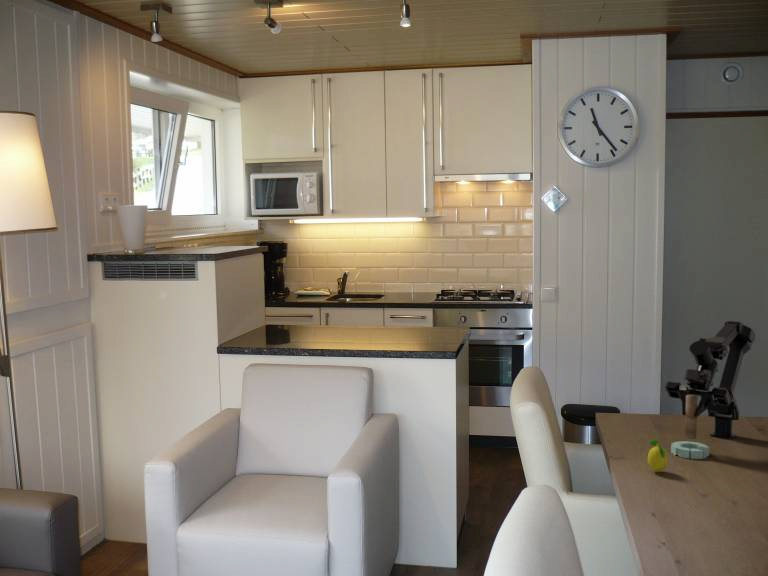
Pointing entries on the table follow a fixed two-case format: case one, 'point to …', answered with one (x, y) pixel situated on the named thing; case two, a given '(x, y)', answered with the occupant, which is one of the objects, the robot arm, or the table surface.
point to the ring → (690, 449)
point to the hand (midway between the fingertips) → (689, 415)
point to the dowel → (691, 416)
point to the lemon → (657, 456)
